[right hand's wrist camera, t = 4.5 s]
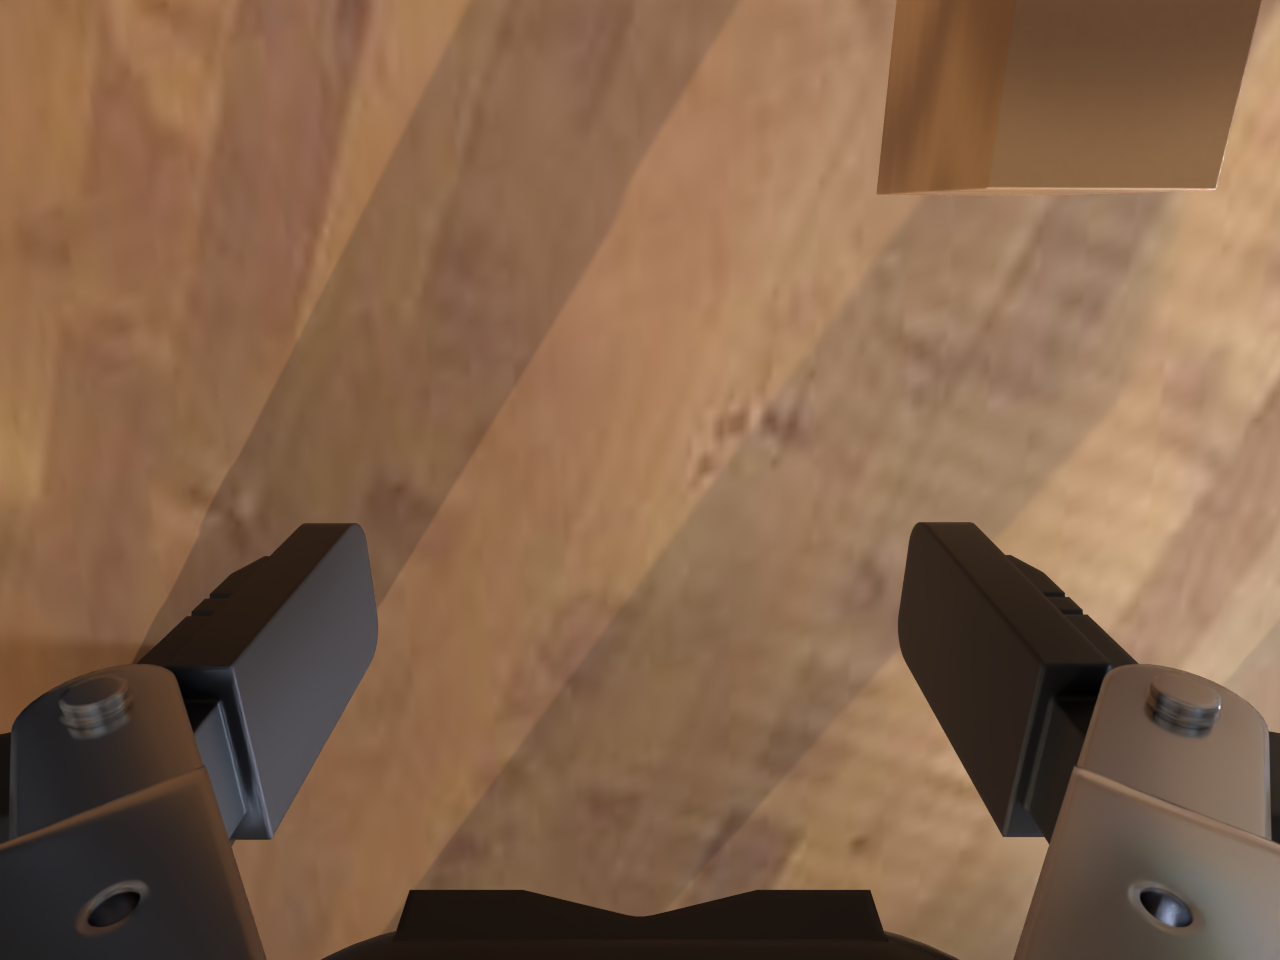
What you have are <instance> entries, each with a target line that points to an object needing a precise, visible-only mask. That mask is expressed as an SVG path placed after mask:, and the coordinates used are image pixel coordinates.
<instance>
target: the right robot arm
mask: <svg viewBox="0 0 1280 960" xmlns="http://www.w3.org/2000/svg"><path fill="white" fill-rule="evenodd" d="M898 635H899V643H900V648H901V652H902V655H903V658H904V660H905V662H906V664H907V665H908V667H909V669H910V671H911V673H912V674H913V676H914V678H915V680H916V682H917V683H918V685H919V687H920V689H921V691H922V692H923V694H924V696H925V698H926V699H927V701H928V703H929V705H930V707H931V708H932V710H933V712H934V714H935V716H936V717H937V719H938V721H939V723H940V725H941V726H942V728H943V730H944V732H945V734H946V735H947V737H948V739H949V741H950V743H951V744H952V746H953V748H954V750H955V752H956V753H957V755H958V757H959V759H960V761H961V762H962V764H963V766H964V768H965V769H966V771H967V773H968V775H969V777H970V778H971V780H972V782H973V784H974V786H975V787H976V789H977V791H978V793H979V795H980V796H981V798H982V800H983V802H984V804H985V805H986V807H987V809H988V811H989V813H990V814H991V816H992V818H993V820H994V822H995V823H996V825H997V827H998V829H999V830H1000V832H1001V834H1002V836H1003V837H1045V838H1046V840H1047V841H1048V843H1049V848H1048V851H1047V854H1046V857H1045V860H1044V864H1043V867H1042V870H1041V873H1040V876H1039V880H1038V883H1037V886H1036V889H1035V892H1034V896H1033V899H1032V902H1031V905H1030V908H1029V911H1028V915H1027V918H1026V921H1025V924H1024V927H1023V931H1022V934H1021V937H1020V940H1019V943H1018V947H1017V950H1016V953H1015V956H1014V959H1013V960H1280V733H1275V732H1270V731H1268V726H1267V724H1266V722H1265V720H1264V718H1263V717H1262V716H1261V715H1260V713H1259V712H1258V711H1257V710H1256V709H1255V708H1254V707H1253V706H1252V705H1250V704H1249V703H1248V702H1247V701H1245V700H1244V699H1243V698H1241V697H1240V696H1238V695H1237V694H1235V693H1234V692H1232V691H1230V690H1229V689H1227V688H1225V687H1223V686H1221V685H1219V684H1217V683H1215V682H1213V681H1210V680H1208V679H1206V678H1203V677H1201V676H1198V675H1195V674H1192V673H1189V672H1186V671H1182V670H1178V669H1175V668H1170V667H1165V666H1159V665H1150V664H1138V663H1137V662H1136V661H1135V660H1134V659H1133V658H1132V657H1131V656H1130V655H1129V654H1128V653H1127V652H1126V651H1125V650H1124V649H1123V648H1122V647H1121V646H1120V645H1118V644H1117V643H1116V642H1115V641H1114V640H1113V639H1112V638H1111V637H1110V636H1109V635H1108V634H1107V633H1106V632H1105V631H1104V630H1103V629H1102V628H1101V627H1100V626H1099V625H1098V624H1097V623H1096V622H1095V621H1093V620H1092V619H1091V618H1090V617H1089V616H1088V615H1083V610H1082V609H1081V608H1080V607H1079V606H1078V605H1077V604H1076V603H1075V602H1074V601H1073V600H1072V599H1071V598H1069V597H1065V593H1064V592H1063V591H1062V590H1061V589H1060V588H1059V587H1058V586H1057V585H1056V584H1055V583H1054V582H1053V581H1052V580H1051V579H1050V578H1049V577H1048V576H1047V575H1046V574H1044V573H1043V572H1041V571H1040V570H1038V569H1036V568H1034V567H1032V566H1030V565H1028V564H1026V563H1025V562H1023V561H1021V560H1019V559H1017V558H1015V557H1013V556H1011V555H1005V554H1004V553H1003V552H1002V551H1001V550H1000V549H999V548H998V547H997V546H996V545H995V544H994V543H993V542H992V541H991V540H990V539H989V538H988V537H987V536H986V535H985V534H984V533H983V532H982V531H981V530H980V529H979V528H978V527H977V526H976V525H975V524H973V523H971V522H919V523H917V524H916V525H915V526H914V528H913V530H912V532H911V536H910V540H909V547H908V554H907V561H906V568H905V575H904V582H903V589H902V596H901V602H900V609H899V617H898ZM377 637H378V618H377V610H376V604H375V597H374V590H373V583H372V576H371V569H370V563H369V556H368V549H367V542H366V537H365V534H364V531H363V529H362V528H361V526H360V525H359V524H357V523H305V524H302V525H301V526H300V527H299V528H298V529H297V530H296V531H295V532H294V533H293V534H292V535H291V536H290V537H289V538H288V539H287V540H286V541H285V542H284V543H283V544H282V545H281V546H280V547H279V548H278V549H277V550H276V551H275V552H274V553H273V554H272V555H271V556H264V557H262V558H260V559H259V560H257V561H255V562H253V563H251V564H249V565H247V566H245V567H244V568H242V569H240V570H238V571H236V572H234V573H232V574H231V575H230V576H229V577H228V578H227V579H226V580H224V581H223V582H222V583H221V584H220V585H219V586H218V587H217V588H216V589H215V590H214V591H213V592H212V593H211V594H210V598H209V599H205V600H203V601H202V602H201V603H200V604H199V605H198V606H197V607H196V608H195V609H194V610H193V611H192V615H191V616H187V617H186V618H185V619H183V620H182V621H181V622H180V623H179V624H178V625H177V626H176V627H175V628H174V629H173V630H172V631H171V632H170V633H169V634H168V635H167V636H166V637H165V638H163V639H162V640H161V641H160V642H159V643H158V644H157V645H156V646H155V647H154V648H153V649H152V650H151V651H150V652H149V653H148V654H147V655H146V656H145V657H144V658H142V659H141V660H140V661H139V662H138V663H137V664H130V665H121V666H115V667H110V668H105V669H102V670H98V671H94V672H91V673H88V674H85V675H82V676H79V677H77V678H74V679H72V680H70V681H67V682H65V683H63V684H61V685H59V686H57V687H55V688H53V689H51V690H50V691H48V692H46V693H45V694H43V695H42V696H40V697H39V698H37V699H36V700H35V701H33V702H32V703H31V704H30V705H28V706H27V707H26V708H25V709H24V710H23V711H22V712H21V713H20V715H19V716H18V717H17V718H16V720H15V722H14V724H13V726H12V731H11V732H10V733H5V734H0V960H267V959H266V956H265V953H264V950H263V947H262V943H261V940H260V937H259V934H258V931H257V927H256V924H255V921H254V918H253V915H252V911H251V908H250V905H249V902H248V899H247V896H246V892H245V889H244V886H243V883H242V880H241V876H240V873H239V870H238V867H237V864H236V860H235V857H234V854H233V851H232V848H231V846H232V845H233V843H234V842H235V840H271V839H272V837H273V835H274V833H275V832H276V830H277V828H278V826H279V824H280V823H281V821H282V819H283V817H284V816H285V814H286V812H287V810H288V808H289V807H290V805H291V803H292V801H293V800H294V798H295V796H296V794H297V793H298V791H299V789H300V787H301V785H302V784H303V782H304V780H305V778H306V777H307V775H308V773H309V771H310V769H311V768H312V766H313V764H314V762H315V761H316V759H317V757H318V755H319V754H320V752H321V750H322V748H323V746H324V745H325V743H326V741H327V739H328V738H329V736H330V734H331V732H332V730H333V729H334V727H335V725H336V723H337V722H338V720H339V718H340V716H341V715H342V713H343V711H344V709H345V707H346V706H347V704H348V702H349V700H350V699H351V697H352V695H353V693H354V691H355V690H356V688H357V686H358V684H359V683H360V681H361V679H362V677H363V676H364V674H365V672H366V670H367V668H368V667H369V665H370V663H371V661H372V659H373V656H374V653H375V649H376V644H377ZM321 960H959V959H957V958H955V957H953V956H951V955H948V954H946V953H944V952H942V951H940V950H938V949H935V948H933V947H931V946H929V945H926V944H924V943H921V942H918V941H915V940H912V939H909V938H906V937H904V936H901V935H897V934H893V933H890V932H886V931H883V928H882V925H881V922H880V919H879V915H878V912H877V909H876V906H875V903H874V900H873V897H872V894H871V891H870V890H755V891H751V892H747V893H743V894H739V895H734V896H730V897H726V898H722V899H718V900H714V901H710V902H706V903H701V904H697V905H693V906H689V907H685V908H681V909H677V910H673V911H668V912H664V913H660V914H656V915H651V916H645V917H635V916H629V915H624V914H620V913H616V912H612V911H607V910H603V909H599V908H595V907H591V906H587V905H583V904H579V903H574V902H570V901H566V900H562V899H558V898H554V897H550V896H546V895H541V894H537V893H533V892H529V891H525V890H410V891H409V894H408V897H407V900H406V903H405V906H404V909H403V912H402V915H401V919H400V922H399V925H398V928H397V931H394V932H390V933H387V934H383V935H379V936H376V937H374V938H371V939H368V940H365V941H362V942H359V943H356V944H354V945H351V946H349V947H347V948H345V949H342V950H340V951H338V952H336V953H334V954H332V955H329V956H327V957H325V958H323V959H321Z"/></svg>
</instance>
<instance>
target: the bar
mask: <svg viewBox="0 0 1280 960" xmlns="http://www.w3.org/2000/svg"><path fill="white" fill-rule="evenodd" d="M1261 4H1262V0H897V2H896V12H895V21H894V31H893V41H892V50H891V60H890V70H889V79H888V89H887V98H886V108H885V118H884V127H883V137H882V147H881V156H880V166H879V176H878V185H877V195H991V196H1043V195H1076V194H1109V193H1142V192H1175V191H1208V190H1215V189H1216V187H1217V183H1218V179H1219V175H1220V171H1221V167H1222V163H1223V159H1224V155H1225V151H1226V146H1227V142H1228V138H1229V134H1230V130H1231V126H1232V122H1233V118H1234V114H1235V110H1236V106H1237V102H1238V98H1239V94H1240V90H1241V85H1242V81H1243V77H1244V73H1245V69H1246V65H1247V61H1248V57H1249V53H1250V49H1251V45H1252V41H1253V37H1254V33H1255V29H1256V24H1257V20H1258V16H1259V12H1260V8H1261Z"/></svg>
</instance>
